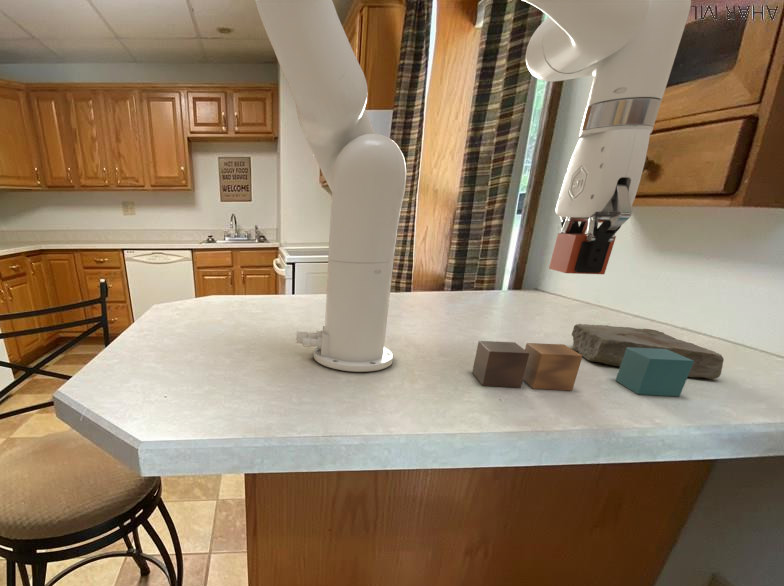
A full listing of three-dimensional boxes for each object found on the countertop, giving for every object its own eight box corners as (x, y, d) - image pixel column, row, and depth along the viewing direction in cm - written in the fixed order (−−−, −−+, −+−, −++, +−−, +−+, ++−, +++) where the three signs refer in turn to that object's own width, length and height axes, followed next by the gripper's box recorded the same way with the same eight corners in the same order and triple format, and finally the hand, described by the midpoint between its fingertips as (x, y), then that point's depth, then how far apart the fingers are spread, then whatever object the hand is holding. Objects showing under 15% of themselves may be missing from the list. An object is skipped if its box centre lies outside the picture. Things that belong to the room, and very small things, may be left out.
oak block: (532, 388, 58) (541, 353, 56) (518, 375, 62) (526, 342, 60) (572, 390, 57) (582, 355, 55) (554, 377, 62) (564, 344, 60)
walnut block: (482, 385, 58) (489, 351, 57) (472, 372, 63) (478, 340, 61) (521, 387, 58) (529, 353, 56) (507, 374, 62) (515, 342, 60)
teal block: (637, 394, 56) (650, 358, 54) (615, 380, 60) (626, 347, 59) (679, 396, 55) (694, 360, 53) (653, 382, 60) (666, 348, 58)
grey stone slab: (720, 381, 60) (733, 353, 58) (602, 373, 63) (611, 346, 62) (652, 347, 75) (661, 324, 73) (560, 341, 78) (566, 319, 77)
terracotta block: (565, 273, 59) (576, 235, 57) (548, 268, 63) (557, 233, 61) (604, 274, 58) (616, 236, 56) (584, 269, 63) (594, 233, 61)
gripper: (553, 133, 62) (523, 262, 69) (628, 108, 46) (580, 277, 53) (608, 133, 61) (572, 263, 68) (704, 107, 45) (645, 279, 52)
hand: (576, 268), depth 60 cm, fingers closed on terracotta block, 5 cm apart
